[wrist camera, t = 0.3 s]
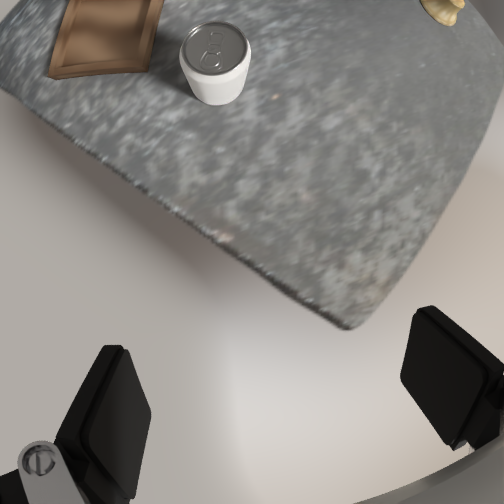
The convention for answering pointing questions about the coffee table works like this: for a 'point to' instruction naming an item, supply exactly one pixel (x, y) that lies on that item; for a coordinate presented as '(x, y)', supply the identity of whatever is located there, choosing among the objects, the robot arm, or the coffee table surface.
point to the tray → (105, 38)
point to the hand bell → (443, 10)
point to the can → (215, 61)
